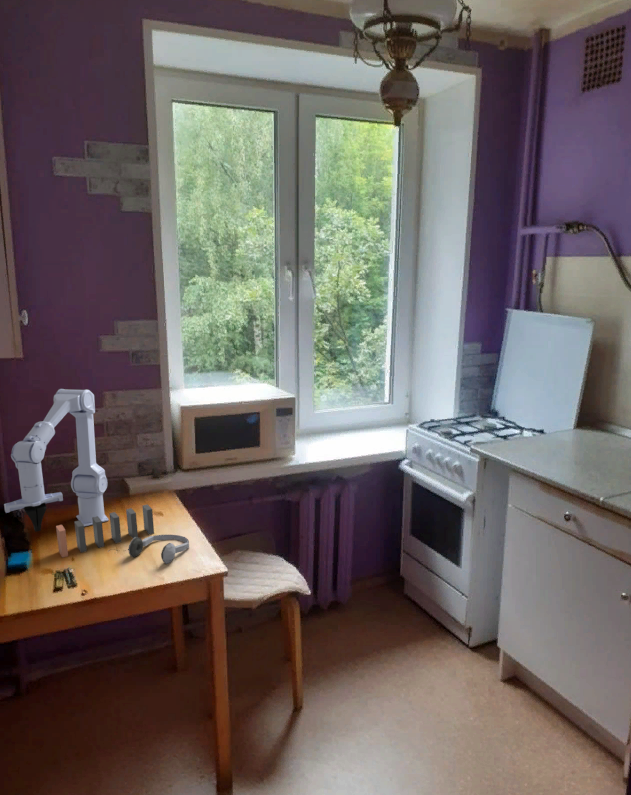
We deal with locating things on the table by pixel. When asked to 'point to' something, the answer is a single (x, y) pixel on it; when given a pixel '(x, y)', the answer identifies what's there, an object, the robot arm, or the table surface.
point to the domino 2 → (80, 536)
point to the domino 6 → (148, 519)
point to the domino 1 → (62, 541)
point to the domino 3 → (98, 531)
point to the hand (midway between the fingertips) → (37, 530)
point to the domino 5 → (132, 523)
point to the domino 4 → (115, 527)
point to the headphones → (167, 551)
